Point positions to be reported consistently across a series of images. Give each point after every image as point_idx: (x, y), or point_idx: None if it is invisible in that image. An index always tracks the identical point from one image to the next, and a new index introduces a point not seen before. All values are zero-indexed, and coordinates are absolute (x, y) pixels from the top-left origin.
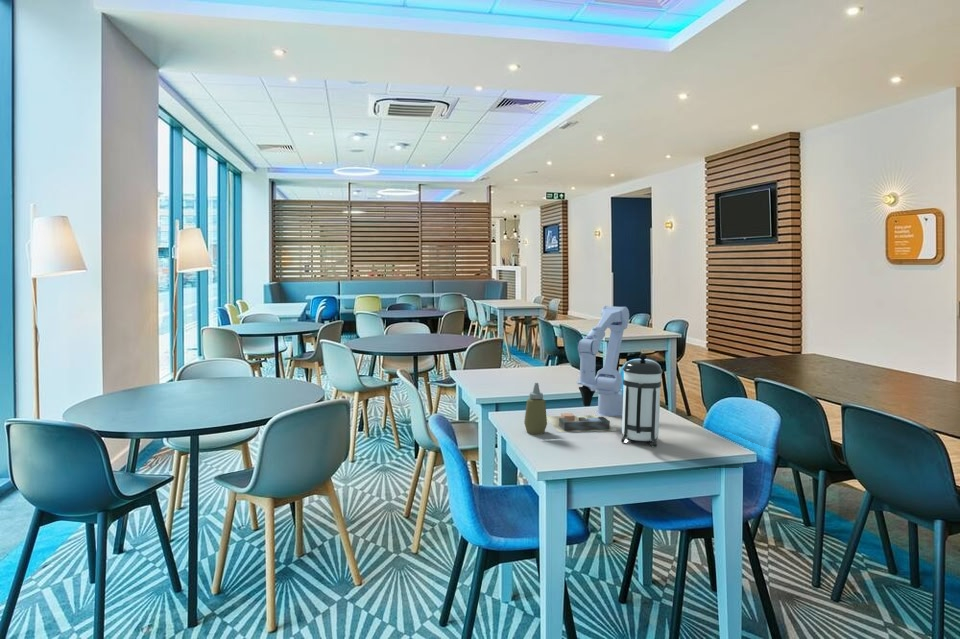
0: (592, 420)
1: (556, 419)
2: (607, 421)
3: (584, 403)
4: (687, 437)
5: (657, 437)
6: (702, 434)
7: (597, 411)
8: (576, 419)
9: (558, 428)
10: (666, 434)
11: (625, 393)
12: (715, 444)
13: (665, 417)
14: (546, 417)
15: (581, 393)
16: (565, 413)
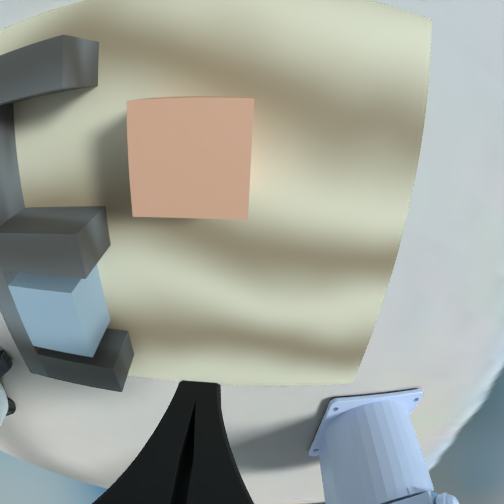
0: (15, 298)
1: (321, 79)
2: (25, 361)
3: (173, 401)
4: (55, 454)
5: (8, 407)
6: (92, 480)
7: (407, 401)
8: (286, 252)
9: (38, 33)
10: (66, 443)
11: None
12: (24, 453)
13: (261, 499)
14: None
15: (217, 501)
16: (244, 149)
